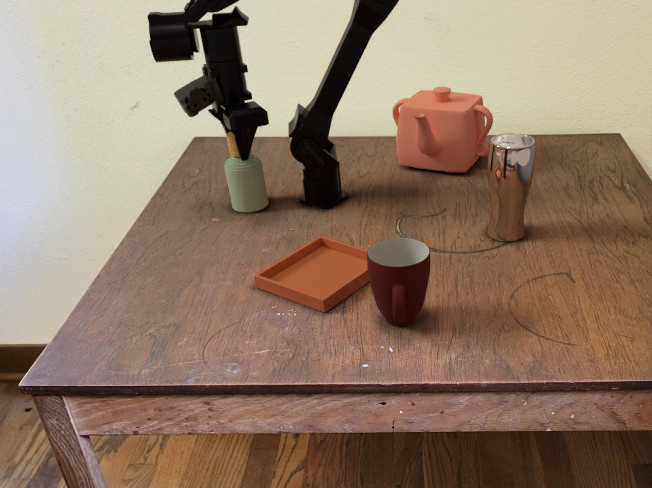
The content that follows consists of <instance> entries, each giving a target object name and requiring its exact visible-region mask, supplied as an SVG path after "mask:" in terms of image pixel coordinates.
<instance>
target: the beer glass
mask: <svg viewBox="0 0 652 488" xmlns="http://www.w3.org/2000/svg"><path fill="white" fill-rule="evenodd" d="M535 142H536V140H535V139H534V137H533V136H530V135H529V134H525V133H519V132H504V133H499V134H496V135H494V136H492V137H491V138H490V140H489V151H488V157H487V158H488V159H487V174H486V175H487V176H486V177H487V187H488V195H489V203H490V218H489V221H488V222H489V224H488V226H487V230H486V233H487V236H488V237H489V238H491V239H492V240H494V241H498V242H503V243H504V242H505V243H506V242H507V243H508V242H516V241H519V240H522V239H523V238H524V237H525V235H526V226H525V210H526V206H527V202H528V197H529V194H530V191H531V186H532V183H533V179H534V178H533V177H534V170H535Z"/></svg>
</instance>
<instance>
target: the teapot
mask: <svg viewBox="0 0 652 488" xmlns="http://www.w3.org/2000/svg"><path fill="white" fill-rule="evenodd" d="M391 113H392V114H391V115H392V118H393V120H394V123H395V125H396V127H397V130H396V135H395V144H396V156H397V160H398V163H399V164H400V165H401V166H406V167H411V168H414V169H421V170H422V169H424V170H430V171H439V172H440V171H441V172H446V173H451V174H453V173H466V172H468V170H470V168H472V166H474V164H475V163H476V162H477V161H478V159H479V158H480V157H485V156H488V154H489V149H490V144H489V143H488V142H487V141H486V137H487V136H488V134H489V133H490V131H491V129H492V127H493V125H494V116H493V114H492V112H491V111H490V109H489V108H488V107H486V106H484V100H483V96H482V95H480V94H473V93H467V92H456V91H452V88H450V87H447V86H437V87H434V88H433V89H432V90H431V89H430V90H429V89H428V90H427V89H421V90H419V91H417V92H416V93H415V94H412V96H411V97H405V98H401V99H398V100H397V101H396V102H395V103H394V105H393V107H392V112H391Z"/></svg>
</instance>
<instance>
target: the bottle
mask: <svg viewBox="0 0 652 488" xmlns="http://www.w3.org/2000/svg"><path fill="white" fill-rule="evenodd" d="M223 168H224V172H225V177H226V182H227V183H226V184H227V187H228V192H229V198H230V202H231V207H232V209H233V211H236V212H239V213H254V212H258V211H261V210H263V209H265V208H267V207H268V205H269V204H270V203H269V197H268V191H267V185H266V181H265V180H266V178H265V172H264V167H263V161H262V159H261V158H260V157H259V156H257V155H255V154H253V153H251V154H249V158H248V160H246V161H242V160H241V158H240V157H233V156H231V155H230V156H229V158H227V160H226V161H225V162H224V165H223Z"/></svg>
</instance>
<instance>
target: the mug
mask: <svg viewBox="0 0 652 488" xmlns="http://www.w3.org/2000/svg"><path fill="white" fill-rule="evenodd" d="M367 250H368V251H367V268H368V275H369V279H370V281H369V283H370V287H371V291H372V294H373V299H374V302H375V306H376V307H377V309H378V311H379V313H380V314H381V316H382V317H383V318H384V320H385V321H386V323H388V324H389V325H391V326H394V327H406V326H409V325H411V324H413V323H414V322H415V321H416V319H417V317H418V316H419V314H421V311H422V309H423V307H424V304H425V301H426V295H427V291H428V285H429V280H430V274H431V250H430V247H429V246H428V245H427V244H426V243H424V242H423V241H422V240H419V239H415V238H412V237H389V238H385V239H381V240H379V241H376V242H374V243H373V244H371V245H370V246H369V247H368V249H367Z"/></svg>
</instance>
